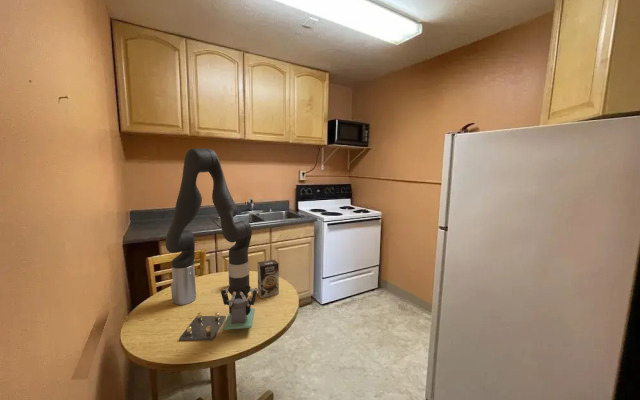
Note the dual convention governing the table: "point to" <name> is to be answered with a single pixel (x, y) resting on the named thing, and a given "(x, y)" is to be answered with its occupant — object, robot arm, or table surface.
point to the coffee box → (268, 278)
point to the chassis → (203, 327)
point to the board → (237, 326)
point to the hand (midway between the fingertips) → (240, 313)
